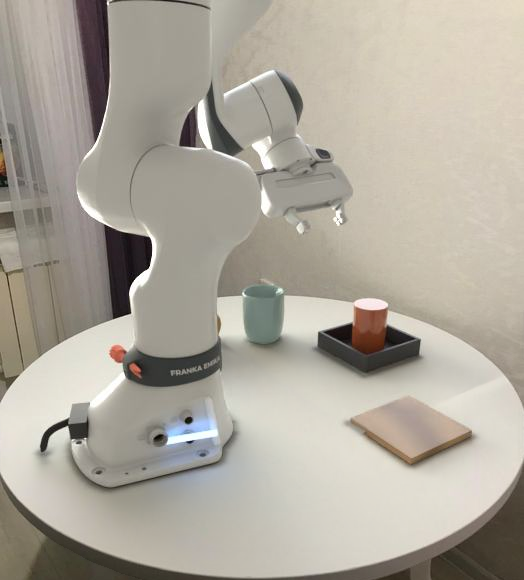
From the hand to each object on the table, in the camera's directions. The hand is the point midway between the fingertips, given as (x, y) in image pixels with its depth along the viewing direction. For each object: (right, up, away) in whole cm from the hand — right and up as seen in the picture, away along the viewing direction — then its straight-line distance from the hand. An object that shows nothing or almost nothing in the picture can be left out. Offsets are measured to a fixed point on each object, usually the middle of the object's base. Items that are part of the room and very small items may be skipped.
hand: (324, 227), depth 108 cm
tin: (+8, -23, 0) cm, 24 cm away
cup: (-11, -21, +6) cm, 24 cm away
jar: (+8, -22, 0) cm, 24 cm away
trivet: (+10, -34, -23) cm, 42 cm away
